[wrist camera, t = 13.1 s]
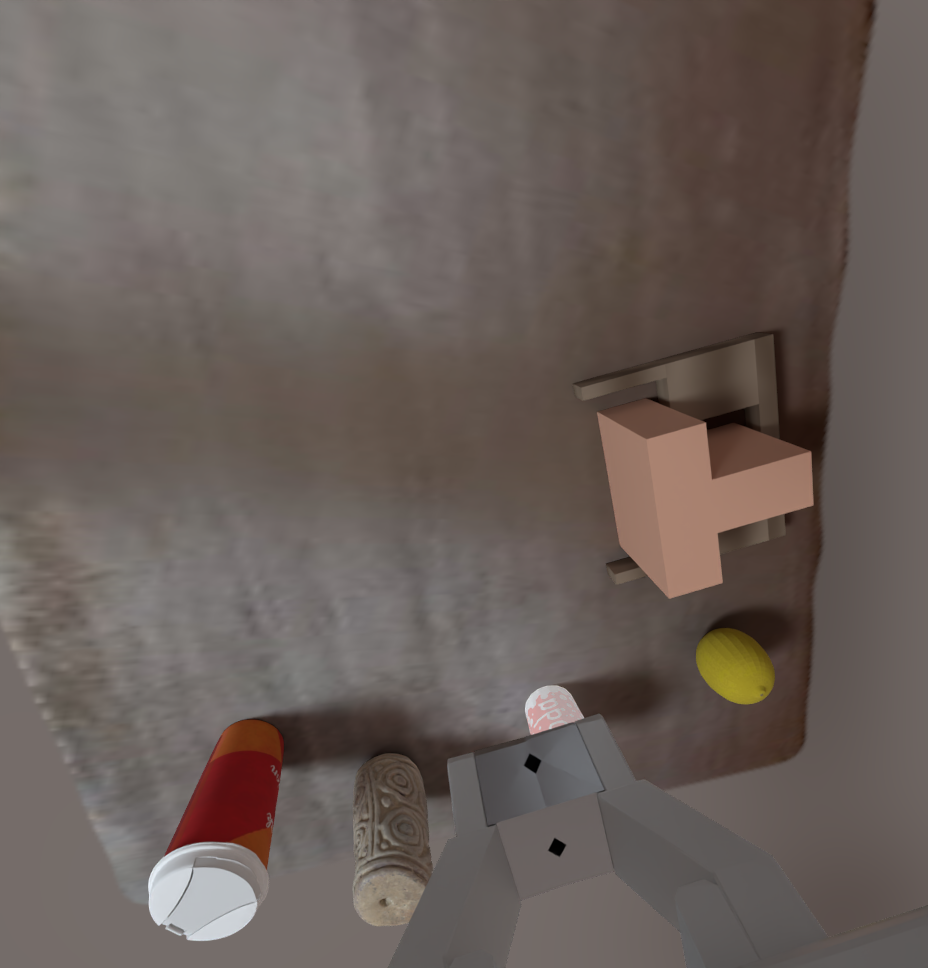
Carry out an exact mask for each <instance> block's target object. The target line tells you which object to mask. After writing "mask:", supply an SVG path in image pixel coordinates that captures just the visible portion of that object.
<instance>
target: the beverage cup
mask: <svg viewBox="0 0 928 968" xmlns="http://www.w3.org/2000/svg"><path fill="white" fill-rule="evenodd" d="M525 712H526V716H527V721H528V725H529V729H530V733H531V735H533V734H536V733H539V732H542V731H545V730H549V729H552V728H555V727H558V726H561V725H565V724H568V723H571V722H575V721H577V720H580V719H583V718H584V717H583V715H582V713H581V711H580V710H579V708H578V706H577V704H576V702H575V701H574V699H573V697H572V695H571V694H570V693H569V692H568V691H567V690H566V689H565V688H563V687H560V686H557V685H554V686H545V687H542V688H539V689H537V690H536V691H535V692H534V693H532V694H531V695H530V697H529V699H528V700H527V702H526V707H525Z"/></svg>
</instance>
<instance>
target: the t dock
mask: <svg viewBox="0 0 928 968" xmlns="http://www.w3.org/2000/svg"><path fill="white" fill-rule="evenodd" d="M652 381H656V387H657V394H658V402H659V404H661V405H664V406H666V407H669V408H671V409H674V410H676V411H679V412H681V413H683V414H686V415H688V416H691V417H693V418H696V419H698V420H704V419H707V418H711V417H715V416H718V415H722V414H725V413H729V412H732V411H736V410H739V409H743V408H744V409H745V421H746V427H747V428H750V429H752V430H755V431H758V432H761V433H763V434H766V435H769V436H771V437H774V438H777V439H779V440H780V435H779V419H778V402H777V386H776V369H775V353H774V336H773V334H767V333H758V332H757V333H753V334H749V335H746V336H742V337H739V338H735V339H731V340H728V341H724V342H721V343H717V344H713V345H710V346H706V347H703V348H699V349H695V350H692V351H688V352H685V353H681V354H677V355H674V356H670V357H667V358H663V359H659V360H656V361H652V362H649V363H645V364H641V365H638V366H634V367H631V368H627V369H623V370H620V371H616V372H613V373H609V374H606V375H602V376H598V377H595V378H591V379H588V380H584V381H580V382H577V383H573V389H574V394H575V397H577V398H579V399H581V400H583V401H584V400H588V399H592V398H595V397H599V396H602V395H606V394H609V393H613V392H617V391H620V390H624V389H627V388H631V387H634V386H638V385H642V384H645V383H649V382H652ZM785 535H786V534H785V518H784V514H782V515H778V516H775V517H771V518H768V519H764V520H761V521H758V522H754V523H751V524H747V525H744V526H740V527H737V528H733V529H730V530H727V531H723V532H720V533H718V543H719V552H720V554H723V553H727V552H730V551H734V550H737V549H740V548H744V547H747V546H751V545H754V544H757V543H761V542H764V541H768V540H771V539H774V538H778V537H781V536H785ZM606 567H607V572H608V575H609V576H610V577H611V579H612V580H613V581H614V582H615V584H616V585H618V584H621V583H625V582H628V581H631V580H635V579H638V578H642V577H645V576H648V575H647V574H646V573H645V572H644V571H643V570H642V569H641V568H640V567H639V565H638V564H637V563H636V562H635V561H634V560H633V559H632V558H631V557H628V558H624V559H621V560H617V561H614V562H611V563H607V564H606Z"/></svg>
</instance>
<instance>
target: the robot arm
mask: <svg viewBox="0 0 928 968" xmlns="http://www.w3.org/2000/svg"><path fill="white" fill-rule="evenodd" d="M447 769H448V777H449V785H450V793H451V801H452V809H453V816H454V824H455V832H456V837H454V838H451V839H448V841H447V843H446V845H445V847H444V850H443V852H442V854H441V856H440V858H439V860H438V862H437V864H436V867H435V868H434V871H433V873H432V875H431V877H430V879H429V881H428V883H427V885H426V888H425V890H424V892H423V894H422V896H421V898H420V900H419V902H418V905H417V907H416V909H415V911H414V913H413V915H412V917H411V919H410V921H409V924H408V926H407V928H406V930H405V932H404V934H403V936H402V938H401V941H400V943H399V945H398V947H397V949H396V951H395V953H394V955H393V957H392V960H391V962H390V964H389V966H388V968H505V967H506V963H507V959H508V955H509V951H510V947H511V943H512V939H513V935H514V931H515V927H516V923H517V919H518V916H519V912H520V908H521V902H520V901H522V900H525V899H527V898H530V897H533V896H536V895H539V894H541V893H545V892H548V891H550V890H553V889H556V888H559V887H562V886H565V885H568V884H572V883H575V882H579V881H582V880H586V879H589V878H593V877H597V876H600V875H604V874H607V873H611V872H615V874H616V875H617V876H618V877H619V878H620V879H621V880H623V881H624V882H625V883H626V884H627V885H628V886H629V887H630V888H631V889H632V890H634V891H635V892H636V893H637V894H638V895H639V896H640V897H641V898H642V899H644V900H645V901H646V902H647V903H648V904H649V905H650V906H651V907H652V908H653V909H655V910H656V911H657V912H658V913H659V914H660V915H661V916H662V917H664V918H665V919H666V920H667V921H668V922H669V923H670V924H671V925H672V926H673V927H675V928H676V929H677V930H678V931H679V932H680V933H681V939H682V944H683V950H684V956H685V961H686V967H687V968H928V905H927V906H924V907H921V908H918V909H914V910H911V911H908V912H905V913H902V914H899V915H896V916H893V917H890V918H886V919H884V920H880V921H877V922H874V923H871V924H868V925H865V926H862V927H859V928H855V929H853V930H849V931H846V932H843V933H840V934H837V935H834V936H831V937H828V936H827V934H826V933H825V932H824V930H823V928H822V927H821V925H820V924H819V923H818V921H817V920H816V918H815V917H814V915H813V914H812V913H811V911H810V910H809V908H808V907H807V905H806V904H805V903H804V901H803V899H802V898H801V897H800V895H799V893H798V892H797V891H796V889H795V888H794V886H793V885H792V883H791V882H790V880H789V879H788V878H787V876H786V875H785V873H784V872H783V870H782V869H781V867H780V866H779V864H778V863H777V861H776V860H775V859H774V857H773V856H772V855H771V854H769V853H767V852H766V851H764V850H762V849H761V848H759V847H757V846H755V845H754V844H752V843H750V842H749V841H747V840H745V839H744V838H742V837H740V836H739V835H737V834H735V833H734V832H732V831H730V830H729V829H727V828H725V827H724V826H722V825H720V824H719V823H717V822H715V821H714V820H712V819H710V818H708V817H707V816H705V815H703V814H702V813H700V812H698V811H696V810H695V809H693V808H692V807H690V806H688V805H687V804H685V803H683V802H681V801H680V800H678V799H676V798H675V797H673V796H672V795H670V794H668V793H667V792H665V791H663V790H661V789H660V788H658V787H656V786H655V785H653V784H651V783H650V782H648V781H646V780H645V779H644V780H640V781H637V782H636V780H635V778H634V776H633V774H632V772H631V770H630V768H629V766H628V764H627V762H626V760H625V758H624V756H623V754H622V752H621V750H620V749H619V747H618V745H617V743H616V741H615V739H614V737H613V735H612V733H611V731H610V729H609V727H608V725H607V723H606V721H605V719H604V718H603V716H602V715H600V714H596V715H593V716H590V717H586V718H583V719H580V720H577V721H575V722H571V723H568V724H565V725H561V726H558V727H555V728H552V729H549V730H545V731H542V732H539V733H536V734H533V735H529V736H526V737H524V738H520V739H517V740H513V741H509V742H506V743H502V744H499V745H495V746H491V747H488V748H484V749H480V750H477V751H474V752H472V753H468V754H464V755H461V756H457V757H453V758H449V759H448V763H447Z"/></svg>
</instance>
